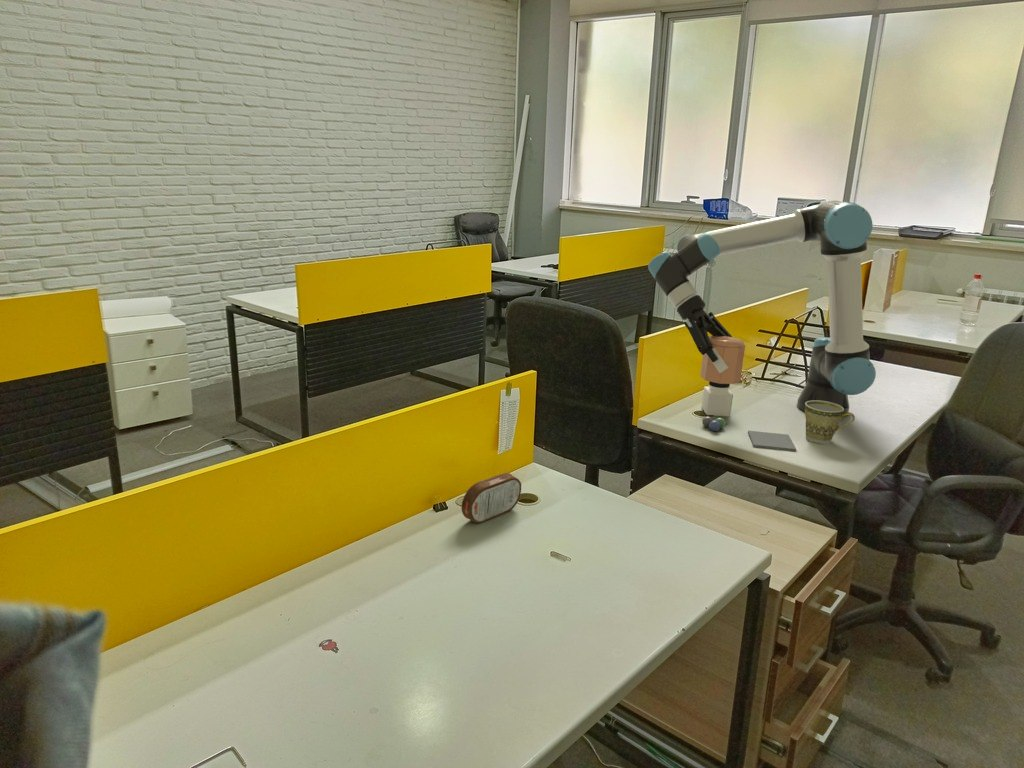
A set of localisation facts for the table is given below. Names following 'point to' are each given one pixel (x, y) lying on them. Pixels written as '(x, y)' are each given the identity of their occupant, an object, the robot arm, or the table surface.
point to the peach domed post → (731, 355)
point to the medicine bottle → (717, 399)
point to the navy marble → (714, 425)
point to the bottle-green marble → (720, 422)
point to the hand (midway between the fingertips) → (732, 367)
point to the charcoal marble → (707, 421)
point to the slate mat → (771, 440)
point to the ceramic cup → (823, 420)
